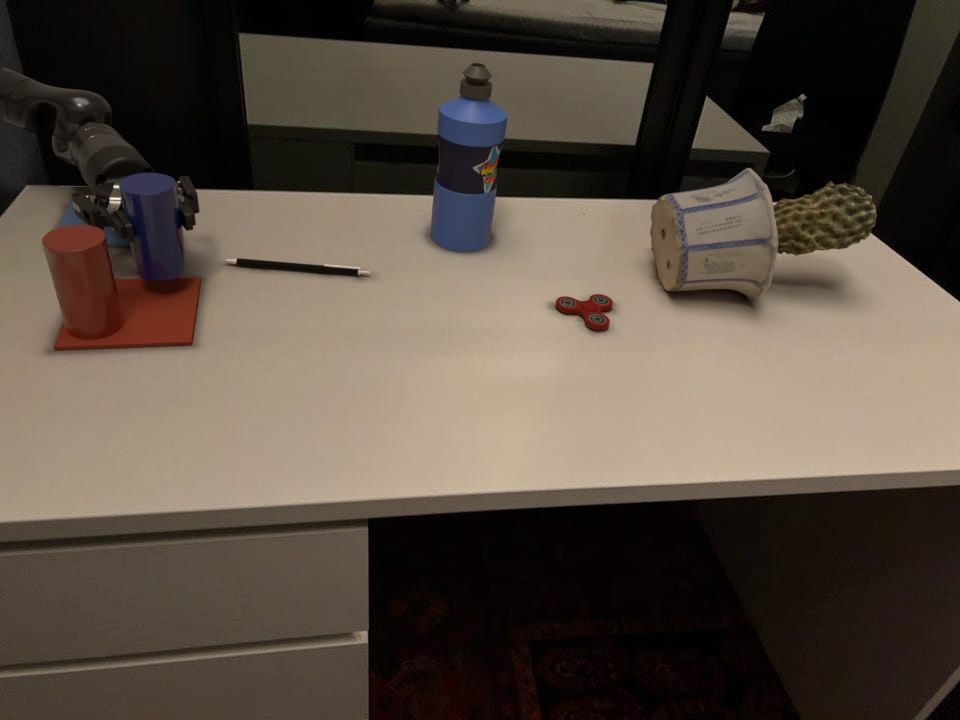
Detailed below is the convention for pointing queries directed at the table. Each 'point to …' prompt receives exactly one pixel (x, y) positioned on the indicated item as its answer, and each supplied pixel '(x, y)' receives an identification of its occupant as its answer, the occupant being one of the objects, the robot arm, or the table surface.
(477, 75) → the water bottle
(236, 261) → the pen
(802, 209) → the potted plant
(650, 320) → the table surface
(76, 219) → the blue mat
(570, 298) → the fidget spinner
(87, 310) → the red cylinder
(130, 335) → the red mat
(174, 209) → the dark blue cylinder
